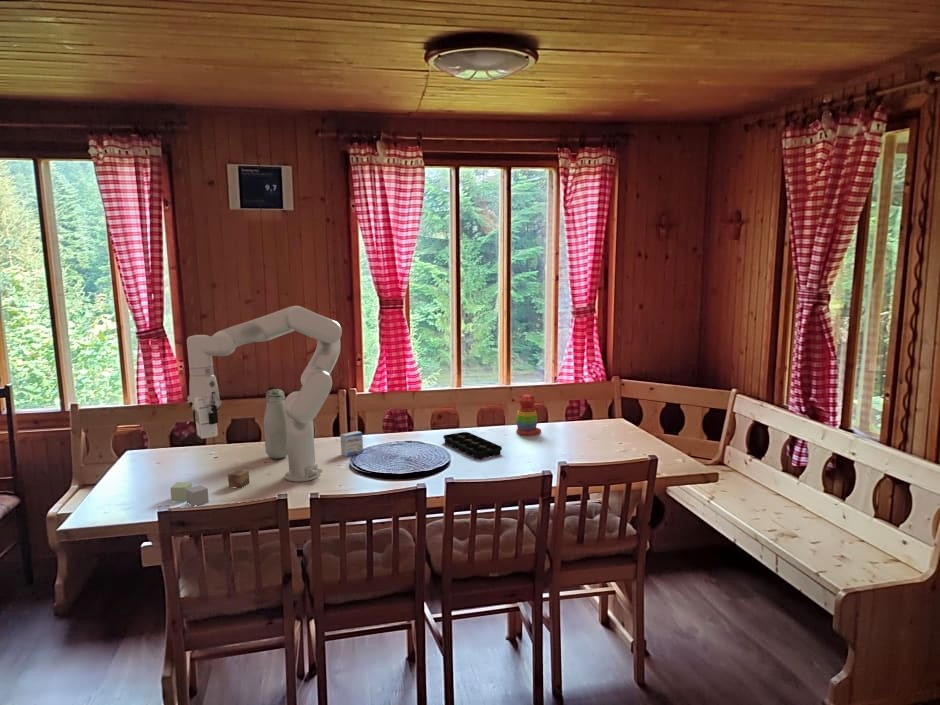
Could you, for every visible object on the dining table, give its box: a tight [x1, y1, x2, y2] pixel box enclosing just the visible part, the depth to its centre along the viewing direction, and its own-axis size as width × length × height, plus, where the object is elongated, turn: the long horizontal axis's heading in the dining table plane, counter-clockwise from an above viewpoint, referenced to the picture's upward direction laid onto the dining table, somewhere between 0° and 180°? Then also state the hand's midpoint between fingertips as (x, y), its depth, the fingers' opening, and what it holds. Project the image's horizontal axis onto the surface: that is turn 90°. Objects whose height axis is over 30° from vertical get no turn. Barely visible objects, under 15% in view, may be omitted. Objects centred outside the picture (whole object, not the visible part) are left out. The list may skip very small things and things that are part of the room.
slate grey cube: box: [186, 484, 210, 507], centre depth 221 cm, size 5×5×5 cm
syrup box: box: [193, 397, 218, 439], centre depth 228 cm, size 6×6×14 cm
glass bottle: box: [263, 388, 288, 460], centre depth 266 cm, size 10×10×28 cm
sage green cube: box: [170, 481, 193, 502], centre depth 225 cm, size 5×5×5 cm
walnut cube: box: [227, 469, 250, 489], centre depth 237 cm, size 5×5×5 cm
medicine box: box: [339, 430, 364, 458], centre depth 272 cm, size 8×4×9 cm, turn 131°
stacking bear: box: [515, 393, 542, 437], centre depth 296 cm, size 11×10×18 cm
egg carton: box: [442, 431, 503, 460], centre depth 276 cm, size 18×30×4 cm, turn 43°
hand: (206, 422), depth 229 cm, fingers closed on syrup box, 7 cm apart
